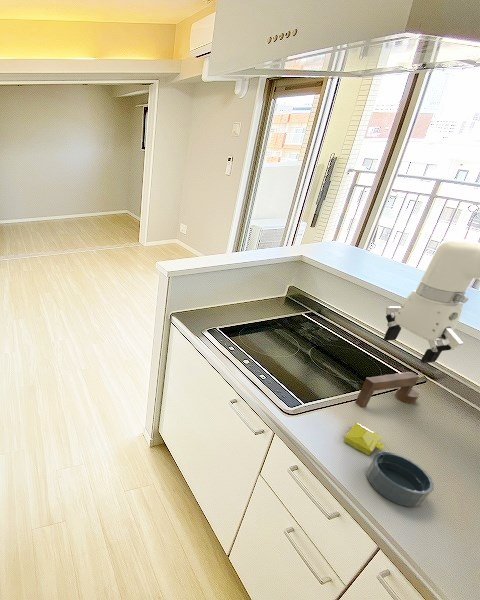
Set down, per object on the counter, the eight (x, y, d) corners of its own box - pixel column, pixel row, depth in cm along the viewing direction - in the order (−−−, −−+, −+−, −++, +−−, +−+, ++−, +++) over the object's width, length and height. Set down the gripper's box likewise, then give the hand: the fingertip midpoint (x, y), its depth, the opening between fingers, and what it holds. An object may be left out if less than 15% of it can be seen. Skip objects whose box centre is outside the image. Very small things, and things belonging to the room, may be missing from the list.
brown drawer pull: (404, 391, 96) (417, 367, 92) (419, 402, 93) (434, 378, 88) (351, 399, 95) (362, 375, 91) (365, 410, 91) (377, 386, 87)
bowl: (391, 463, 77) (400, 449, 75) (435, 504, 68) (447, 489, 66) (354, 469, 76) (362, 455, 74) (394, 511, 67) (405, 497, 65)
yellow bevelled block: (349, 420, 88) (353, 413, 87) (392, 443, 81) (397, 436, 80) (333, 440, 83) (337, 432, 82) (379, 466, 76) (384, 458, 75)
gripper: (498, 308, 71) (457, 370, 79) (415, 276, 86) (388, 330, 94) (468, 311, 70) (430, 373, 78) (389, 278, 85) (364, 333, 93)
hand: (407, 350), depth 86 cm, fingers open, 9 cm apart
